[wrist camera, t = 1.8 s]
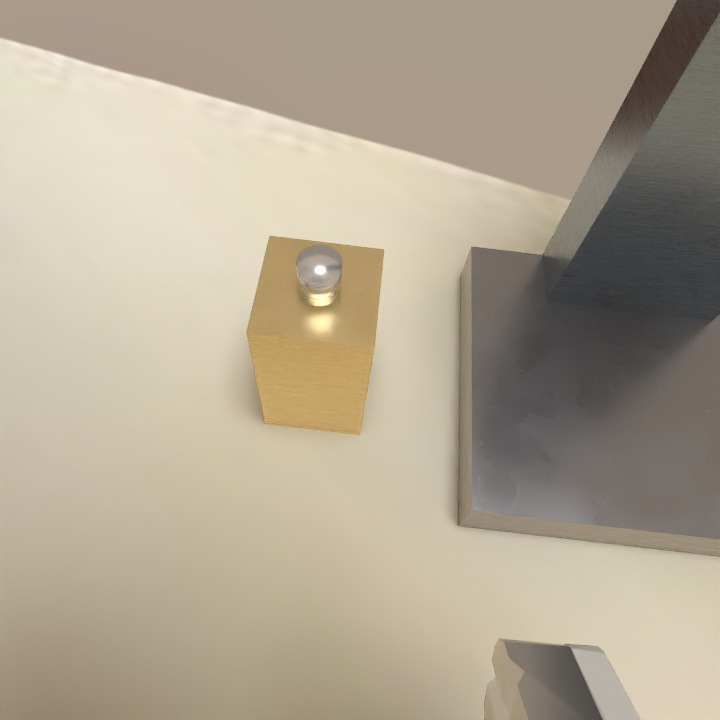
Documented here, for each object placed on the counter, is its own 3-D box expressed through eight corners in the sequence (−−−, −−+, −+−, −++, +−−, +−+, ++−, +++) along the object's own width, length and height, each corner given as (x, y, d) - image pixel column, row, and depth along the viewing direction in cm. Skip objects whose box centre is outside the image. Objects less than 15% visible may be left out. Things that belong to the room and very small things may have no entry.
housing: (265, 423, 26) (241, 307, 18) (281, 343, 29) (266, 207, 21) (359, 434, 26) (378, 323, 18) (368, 353, 29) (388, 222, 21)
